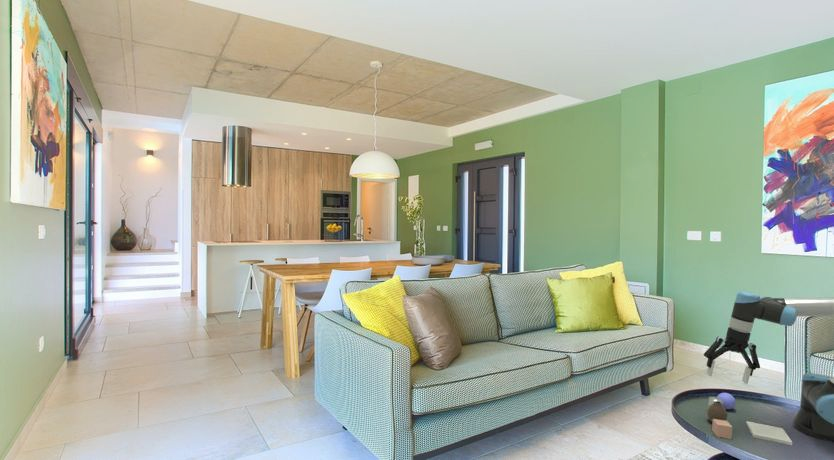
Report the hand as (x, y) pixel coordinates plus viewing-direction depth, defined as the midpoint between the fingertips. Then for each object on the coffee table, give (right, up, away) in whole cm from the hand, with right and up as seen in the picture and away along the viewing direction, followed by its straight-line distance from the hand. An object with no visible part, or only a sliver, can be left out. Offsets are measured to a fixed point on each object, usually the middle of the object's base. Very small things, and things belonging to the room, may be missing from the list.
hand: (726, 378), depth 181 cm
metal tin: (+3, -19, +12) cm, 23 cm away
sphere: (+11, -19, +16) cm, 27 cm away
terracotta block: (-7, -20, -7) cm, 22 cm away
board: (+12, -20, -6) cm, 24 cm away
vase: (-2, -19, +2) cm, 20 cm away
